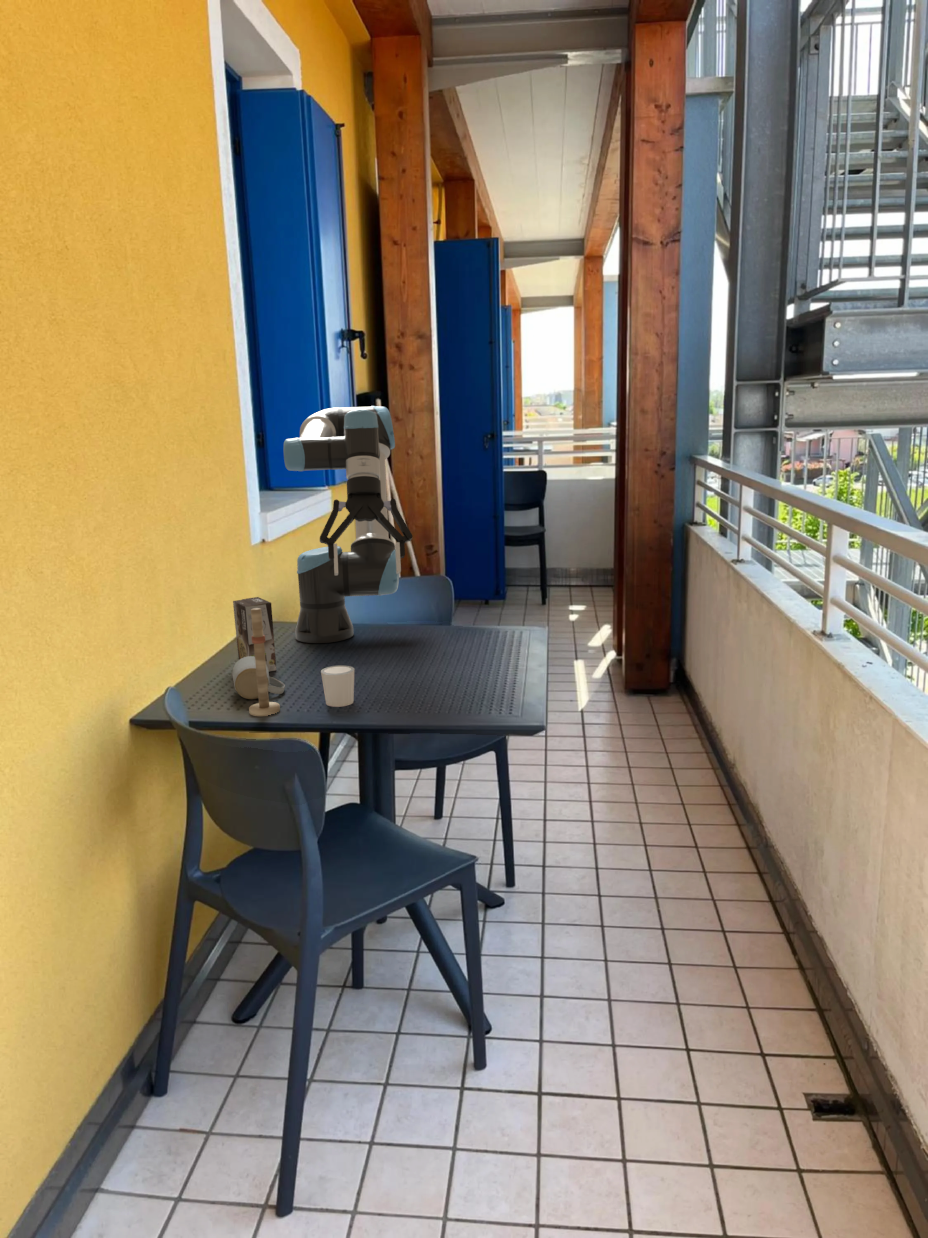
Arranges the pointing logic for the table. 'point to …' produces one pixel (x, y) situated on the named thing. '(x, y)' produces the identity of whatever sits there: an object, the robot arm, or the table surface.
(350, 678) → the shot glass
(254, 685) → the ceramic mug
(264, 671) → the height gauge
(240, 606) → the coffee box
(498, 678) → the table surface
